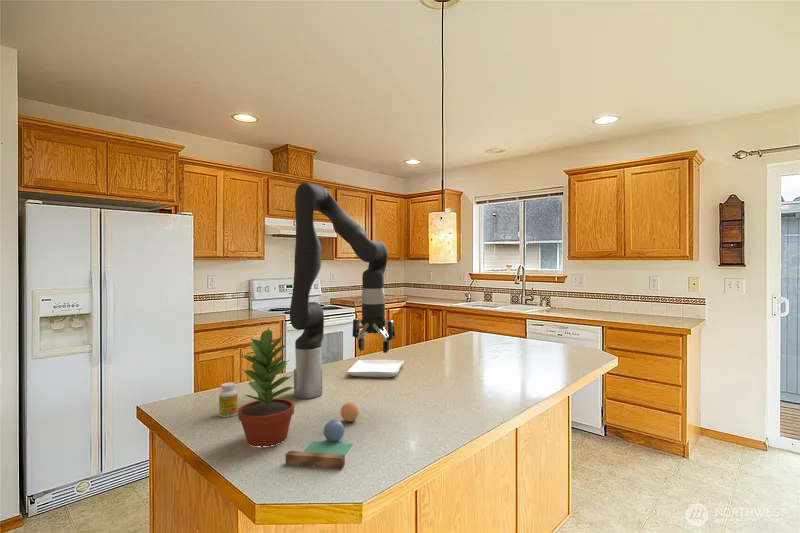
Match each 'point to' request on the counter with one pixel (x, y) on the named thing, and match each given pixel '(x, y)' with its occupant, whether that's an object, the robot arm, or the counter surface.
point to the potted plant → (266, 396)
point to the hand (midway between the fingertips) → (373, 351)
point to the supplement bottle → (228, 400)
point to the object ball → (334, 430)
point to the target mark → (328, 447)
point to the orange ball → (349, 411)
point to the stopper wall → (315, 459)
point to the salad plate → (375, 368)
